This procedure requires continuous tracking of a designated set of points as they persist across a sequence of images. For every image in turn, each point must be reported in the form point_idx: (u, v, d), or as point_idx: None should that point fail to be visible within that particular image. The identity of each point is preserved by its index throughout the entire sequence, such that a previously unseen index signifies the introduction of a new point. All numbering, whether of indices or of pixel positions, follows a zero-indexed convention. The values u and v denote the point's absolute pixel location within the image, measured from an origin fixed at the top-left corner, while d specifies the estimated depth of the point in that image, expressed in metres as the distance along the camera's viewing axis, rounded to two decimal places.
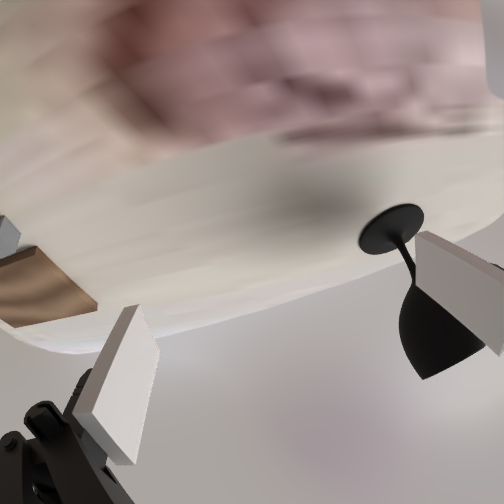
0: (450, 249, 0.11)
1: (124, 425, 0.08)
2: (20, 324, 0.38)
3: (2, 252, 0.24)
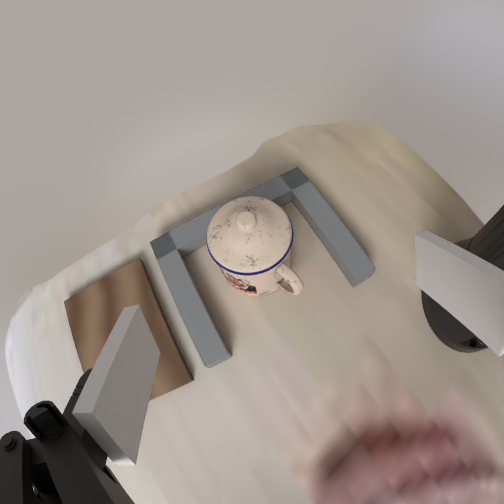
0: (450, 249, 0.11)
1: (124, 425, 0.08)
2: (71, 314, 0.38)
3: (204, 351, 0.34)
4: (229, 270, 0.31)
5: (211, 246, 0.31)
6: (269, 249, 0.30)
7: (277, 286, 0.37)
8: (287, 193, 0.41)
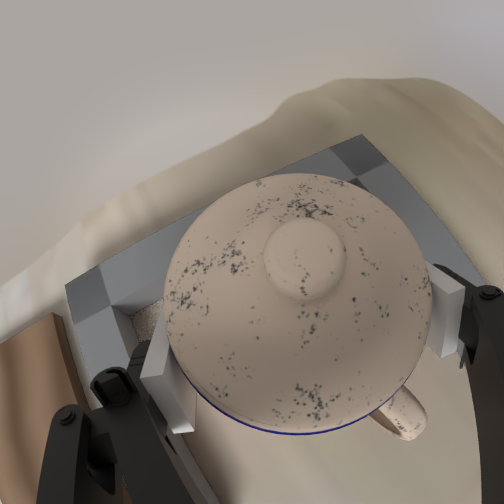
0: None
1: (184, 391, 0.09)
2: None
3: None
4: (232, 416, 0.08)
5: (174, 333, 0.09)
6: (377, 361, 0.08)
7: None
8: None
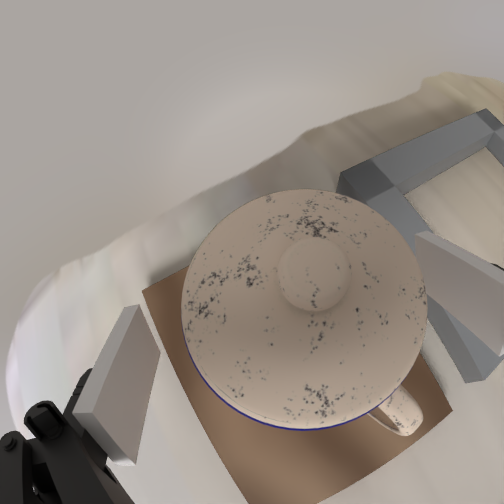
0: (450, 249, 0.11)
1: (124, 425, 0.08)
2: (165, 317, 0.20)
3: (481, 356, 0.15)
4: (247, 415, 0.09)
5: (193, 339, 0.10)
6: (377, 364, 0.08)
7: None
8: (491, 134, 0.23)
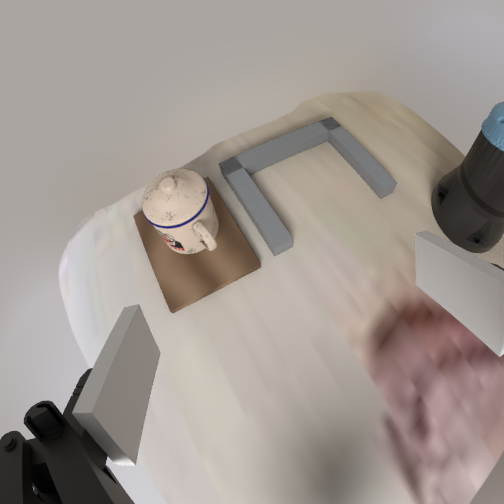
0: (450, 249, 0.11)
1: (124, 425, 0.08)
2: (141, 224, 0.48)
3: (273, 237, 0.43)
4: (154, 224, 0.37)
5: (143, 205, 0.38)
6: (184, 207, 0.37)
7: (203, 245, 0.44)
8: (325, 133, 0.51)
